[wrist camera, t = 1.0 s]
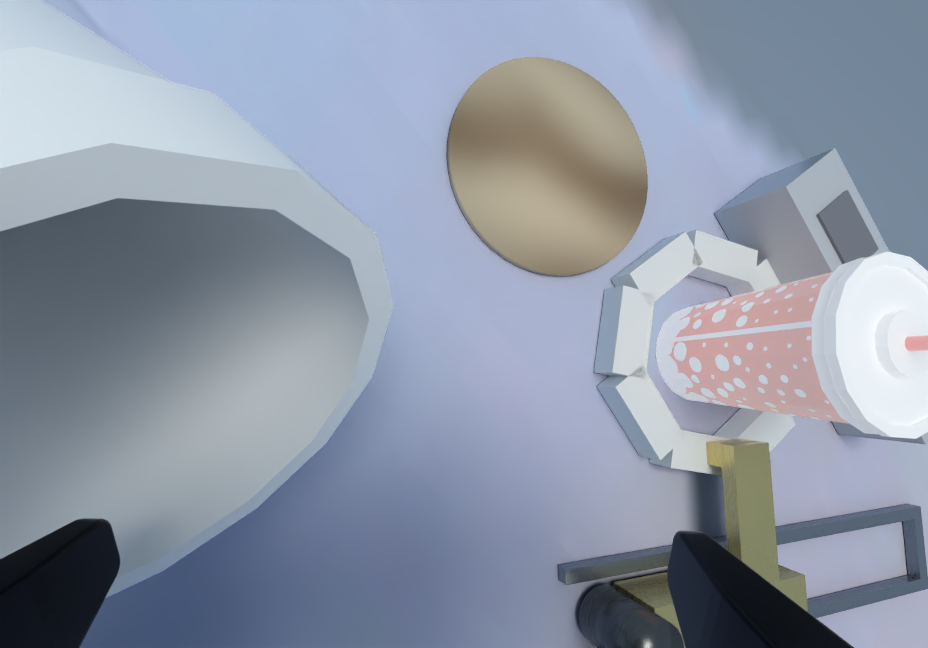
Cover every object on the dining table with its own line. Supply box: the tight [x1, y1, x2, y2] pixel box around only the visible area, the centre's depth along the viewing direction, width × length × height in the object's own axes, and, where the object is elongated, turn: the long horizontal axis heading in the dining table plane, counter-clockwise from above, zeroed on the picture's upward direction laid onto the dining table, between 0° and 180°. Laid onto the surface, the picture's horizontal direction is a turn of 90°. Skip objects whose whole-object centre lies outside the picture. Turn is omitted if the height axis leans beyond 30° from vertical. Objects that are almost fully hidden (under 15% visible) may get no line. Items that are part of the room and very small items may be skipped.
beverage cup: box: [656, 252, 928, 439], centre depth 18 cm, size 6×6×14 cm
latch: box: [579, 439, 808, 648], centre depth 22 cm, size 8×10×3 cm
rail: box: [558, 504, 928, 618], centre depth 25 cm, size 4×23×1 cm, turn 92°
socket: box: [594, 148, 928, 476], centre depth 24 cm, size 15×14×4 cm
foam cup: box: [0, 0, 394, 598], centre depth 10 cm, size 10×9×13 cm
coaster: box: [447, 57, 648, 276], centre depth 23 cm, size 10×10×1 cm
